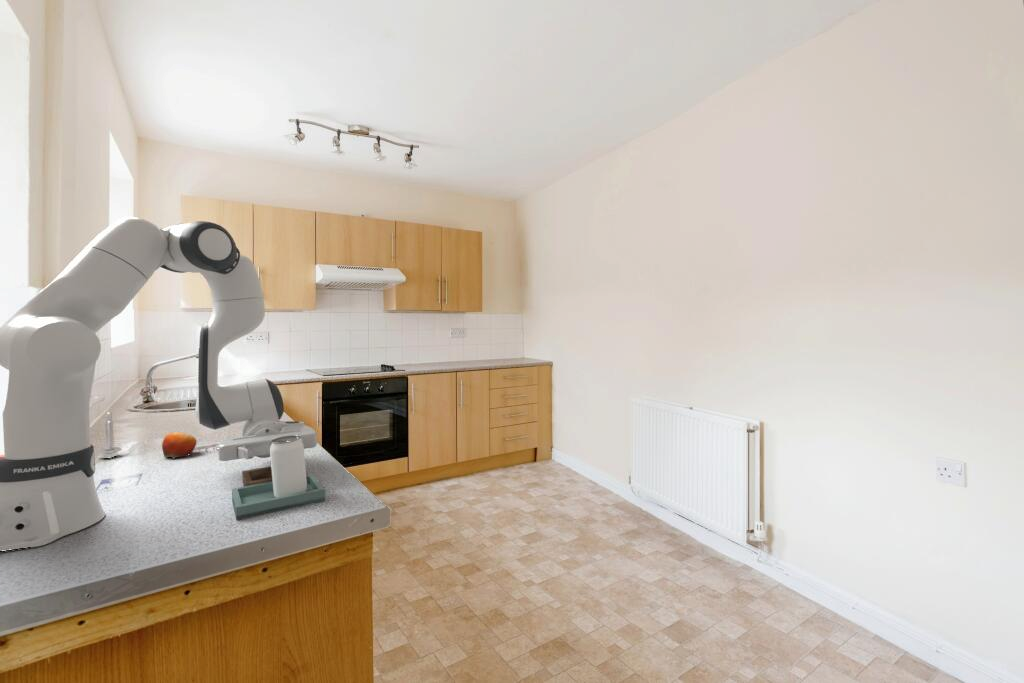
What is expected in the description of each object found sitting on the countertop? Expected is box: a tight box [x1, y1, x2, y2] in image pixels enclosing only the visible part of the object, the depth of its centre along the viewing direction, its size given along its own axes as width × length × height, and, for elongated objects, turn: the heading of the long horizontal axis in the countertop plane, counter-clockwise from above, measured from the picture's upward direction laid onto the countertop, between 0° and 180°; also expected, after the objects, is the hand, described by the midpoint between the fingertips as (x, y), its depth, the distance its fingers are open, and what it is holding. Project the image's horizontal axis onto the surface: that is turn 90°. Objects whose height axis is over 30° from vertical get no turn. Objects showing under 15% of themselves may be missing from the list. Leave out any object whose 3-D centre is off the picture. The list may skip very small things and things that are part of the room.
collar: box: [241, 465, 272, 487], centre depth 106 cm, size 10×10×2 cm
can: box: [269, 435, 307, 498], centre depth 96 cm, size 6×6×12 cm
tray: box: [231, 473, 326, 521], centre depth 95 cm, size 16×12×2 cm
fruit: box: [161, 431, 197, 460], centre depth 128 cm, size 8×8×8 cm
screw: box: [98, 411, 122, 458], centre depth 127 cm, size 13×5×5 cm
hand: (273, 451), depth 99 cm, fingers open, 8 cm apart
